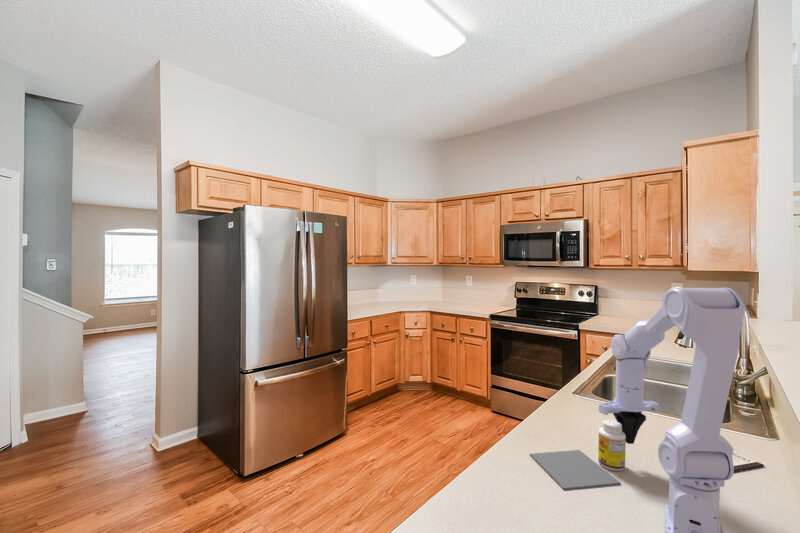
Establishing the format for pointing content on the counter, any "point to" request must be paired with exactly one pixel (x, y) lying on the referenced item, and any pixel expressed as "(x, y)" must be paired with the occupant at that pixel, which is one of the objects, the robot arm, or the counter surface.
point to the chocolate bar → (744, 463)
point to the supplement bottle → (612, 446)
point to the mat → (573, 470)
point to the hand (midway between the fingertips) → (628, 441)
